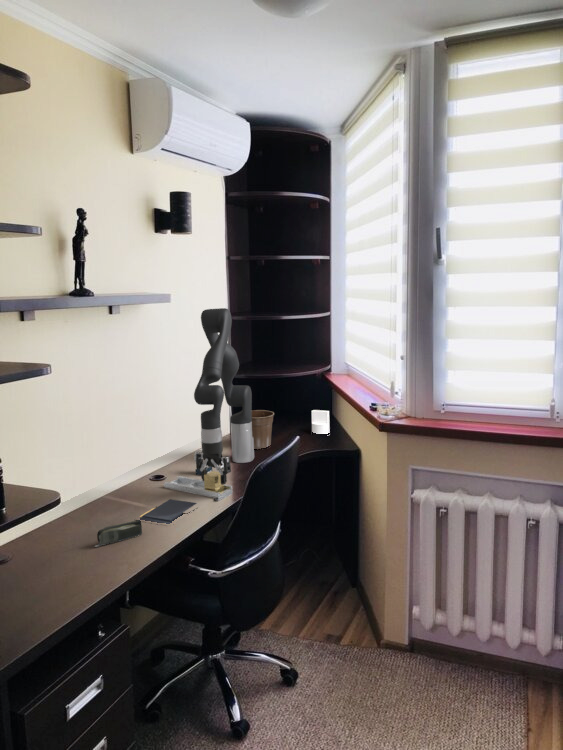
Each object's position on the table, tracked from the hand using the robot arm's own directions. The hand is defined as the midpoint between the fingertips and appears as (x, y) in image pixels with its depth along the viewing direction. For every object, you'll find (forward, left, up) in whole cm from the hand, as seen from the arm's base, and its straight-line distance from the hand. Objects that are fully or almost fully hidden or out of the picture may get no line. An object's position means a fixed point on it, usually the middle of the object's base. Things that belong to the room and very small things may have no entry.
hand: (214, 482), depth 212 cm
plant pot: (-61, -22, -5) cm, 65 cm away
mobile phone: (+44, -2, -5) cm, 44 cm away
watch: (-16, -18, -5) cm, 25 cm away
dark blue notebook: (+20, -4, -6) cm, 21 cm away
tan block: (0, 0, -4) cm, 4 cm away
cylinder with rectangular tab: (-94, -6, -5) cm, 94 cm away
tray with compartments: (0, -8, -5) cm, 9 cm away
